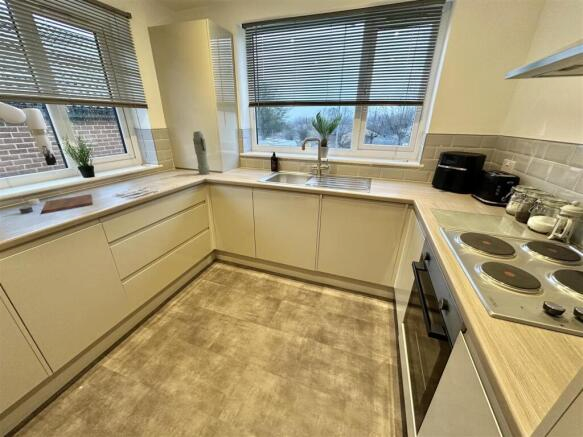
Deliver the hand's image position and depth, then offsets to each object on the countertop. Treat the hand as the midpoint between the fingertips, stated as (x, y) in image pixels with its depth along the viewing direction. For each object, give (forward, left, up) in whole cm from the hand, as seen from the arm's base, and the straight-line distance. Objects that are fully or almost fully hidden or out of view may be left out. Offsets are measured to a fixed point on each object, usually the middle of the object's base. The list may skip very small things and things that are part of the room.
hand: (52, 164), depth 138 cm
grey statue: (+91, +14, -22) cm, 95 cm away
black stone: (-14, -24, -21) cm, 35 cm away
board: (+1, -15, -21) cm, 26 cm away
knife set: (+41, -13, -21) cm, 48 cm away
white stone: (-13, -7, -21) cm, 26 cm away
